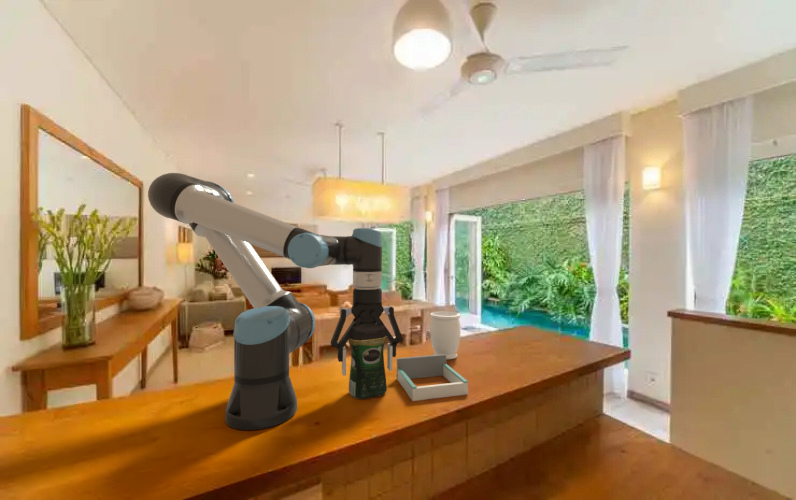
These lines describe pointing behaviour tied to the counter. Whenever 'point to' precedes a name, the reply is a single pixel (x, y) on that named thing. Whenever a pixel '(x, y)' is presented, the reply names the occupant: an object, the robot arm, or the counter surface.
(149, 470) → the counter surface
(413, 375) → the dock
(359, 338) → the coffee jar
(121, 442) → the counter surface
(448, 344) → the jar
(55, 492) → the counter surface
